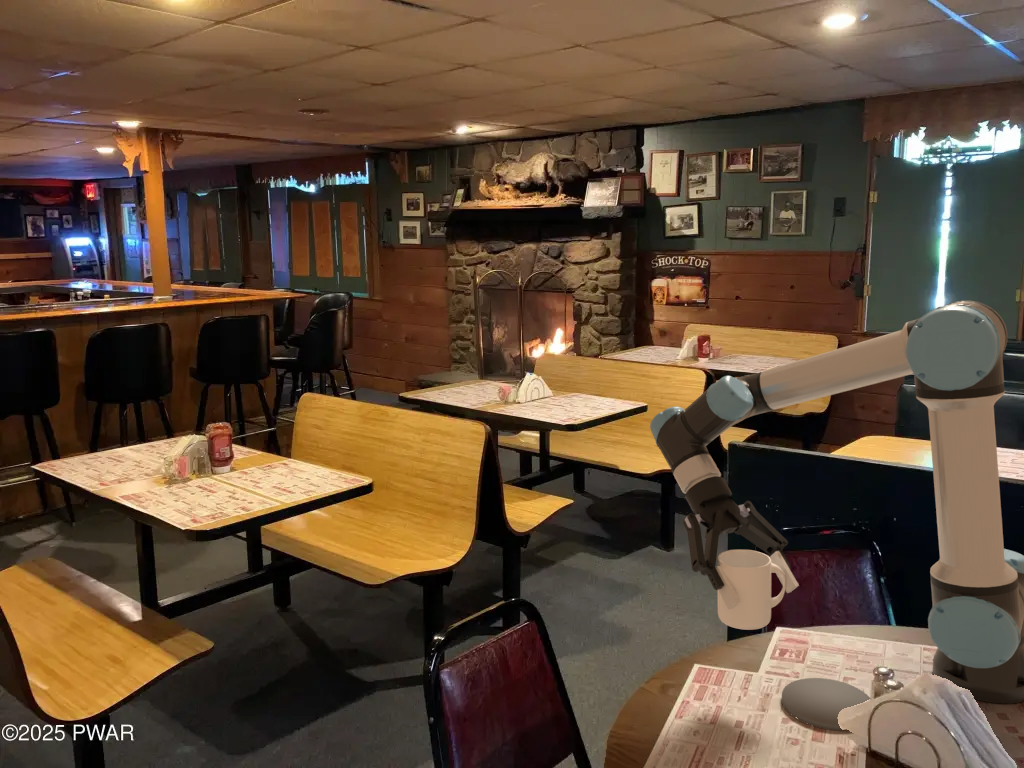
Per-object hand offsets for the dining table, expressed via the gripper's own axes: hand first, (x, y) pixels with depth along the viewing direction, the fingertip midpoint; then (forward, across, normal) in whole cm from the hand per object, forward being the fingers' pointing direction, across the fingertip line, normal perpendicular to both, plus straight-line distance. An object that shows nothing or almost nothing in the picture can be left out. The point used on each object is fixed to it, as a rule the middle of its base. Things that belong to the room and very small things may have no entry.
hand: (764, 597), depth 133 cm
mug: (+2, 0, -5) cm, 6 cm away
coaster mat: (+17, -6, -7) cm, 20 cm away
